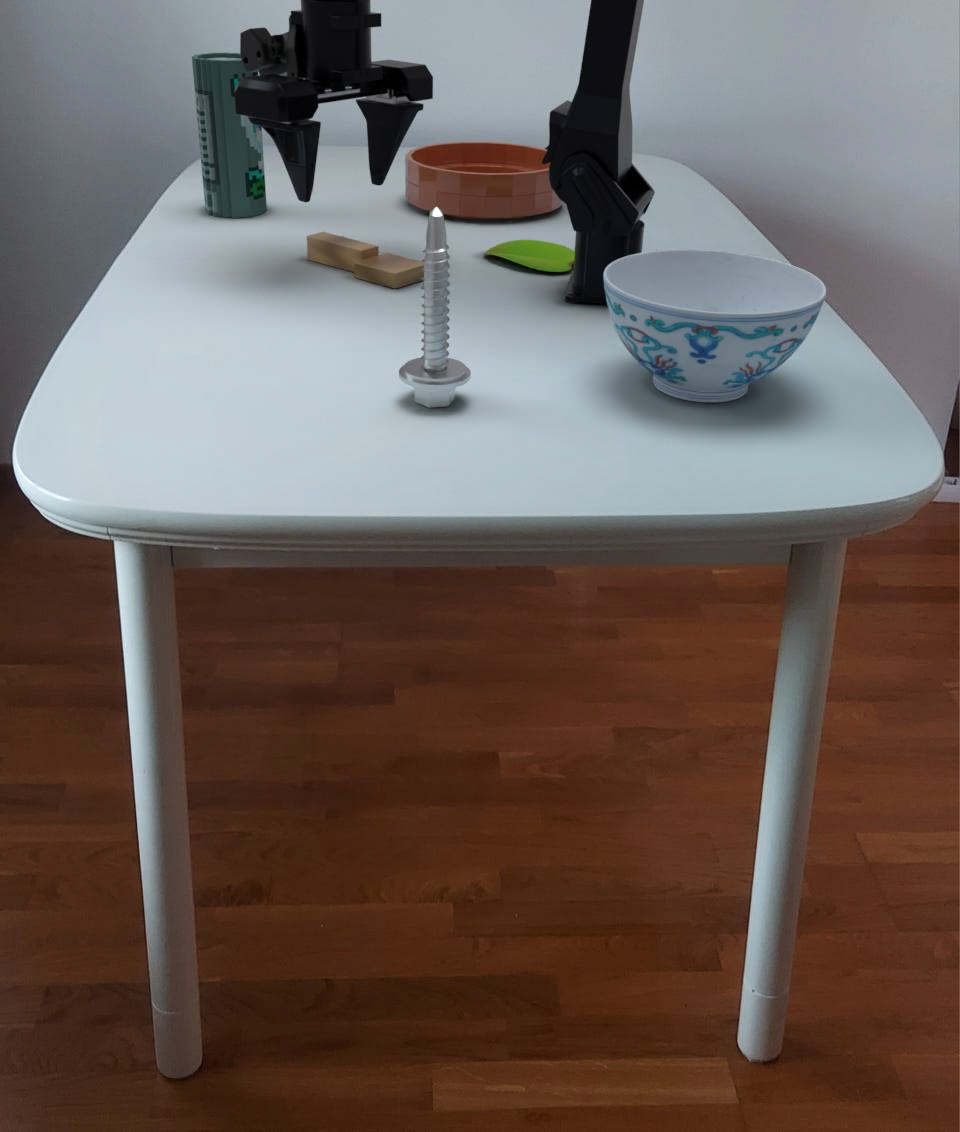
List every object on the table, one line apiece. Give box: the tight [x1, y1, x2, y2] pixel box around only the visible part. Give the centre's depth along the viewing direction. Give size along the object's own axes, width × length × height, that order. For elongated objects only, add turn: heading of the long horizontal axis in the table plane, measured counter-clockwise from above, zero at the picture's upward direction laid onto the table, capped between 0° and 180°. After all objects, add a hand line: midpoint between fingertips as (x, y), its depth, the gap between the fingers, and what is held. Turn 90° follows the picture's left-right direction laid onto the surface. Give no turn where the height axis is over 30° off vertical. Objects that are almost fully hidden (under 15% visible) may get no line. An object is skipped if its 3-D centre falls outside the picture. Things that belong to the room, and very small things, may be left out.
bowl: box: [404, 141, 564, 221], centre depth 128 cm, size 17×17×5 cm
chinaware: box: [603, 248, 827, 404], centre depth 82 cm, size 15×15×8 cm
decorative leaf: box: [483, 239, 575, 273], centre depth 110 cm, size 8×9×1 cm
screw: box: [398, 207, 472, 409], centre depth 77 cm, size 13×5×5 cm
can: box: [191, 52, 268, 219], centre depth 120 cm, size 6×6×15 cm
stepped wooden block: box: [306, 231, 424, 290], centre depth 106 cm, size 12×4×2 cm, turn 51°
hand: (341, 192), depth 104 cm, fingers open, 9 cm apart
